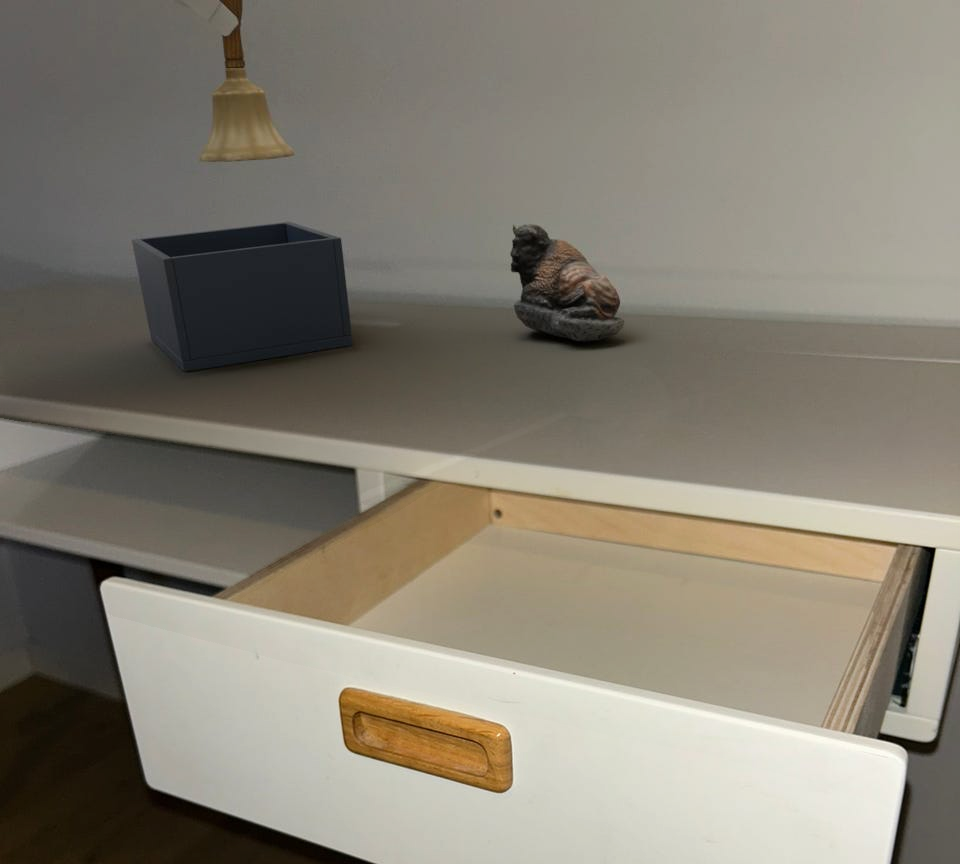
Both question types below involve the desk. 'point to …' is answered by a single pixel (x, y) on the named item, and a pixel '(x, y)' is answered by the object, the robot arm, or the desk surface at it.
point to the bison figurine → (561, 289)
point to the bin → (244, 293)
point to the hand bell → (241, 110)
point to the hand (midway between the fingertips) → (236, 30)
